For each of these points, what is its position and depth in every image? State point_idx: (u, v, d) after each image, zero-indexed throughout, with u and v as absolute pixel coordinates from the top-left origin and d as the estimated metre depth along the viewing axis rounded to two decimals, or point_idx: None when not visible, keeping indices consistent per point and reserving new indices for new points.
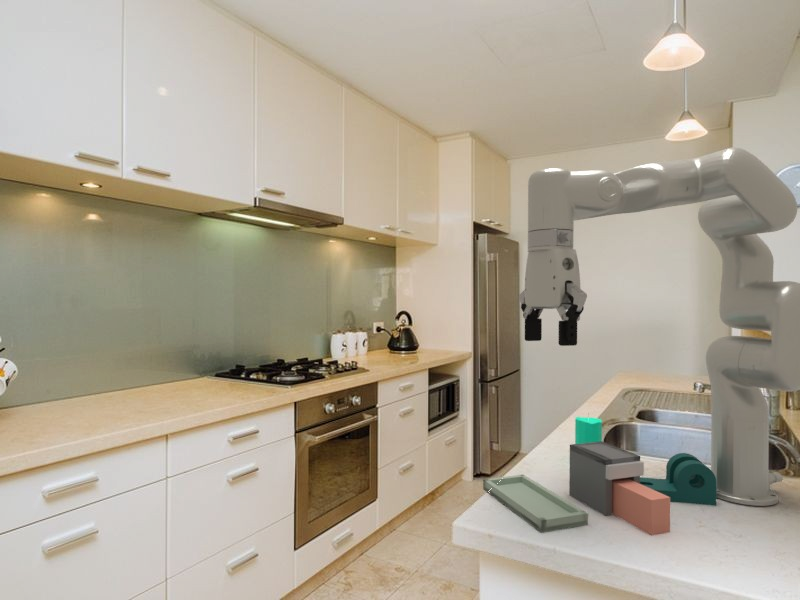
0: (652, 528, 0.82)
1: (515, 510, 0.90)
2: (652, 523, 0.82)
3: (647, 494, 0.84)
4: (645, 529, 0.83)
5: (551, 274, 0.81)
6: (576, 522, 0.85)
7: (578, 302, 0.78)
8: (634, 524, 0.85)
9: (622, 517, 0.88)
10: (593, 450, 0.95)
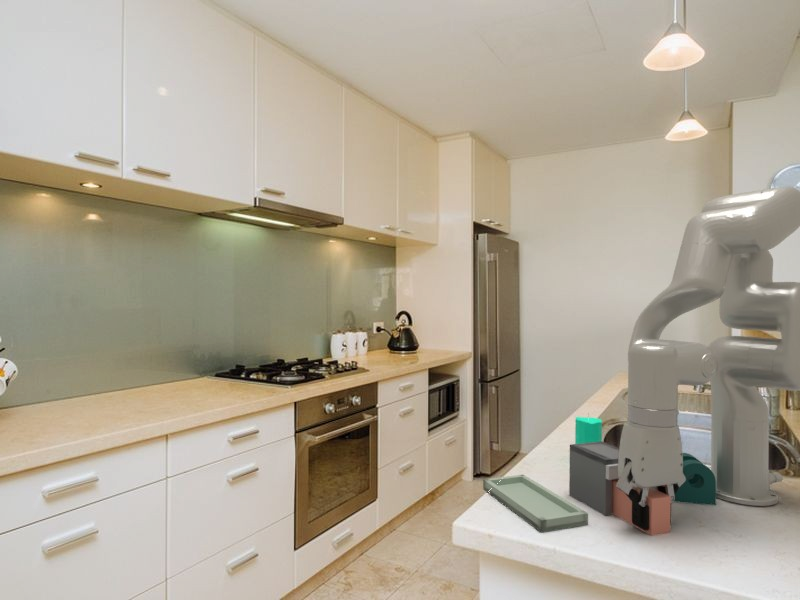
0: (652, 527, 0.82)
1: (515, 510, 0.90)
2: (652, 521, 0.82)
3: None
4: None
5: (679, 451, 0.84)
6: (576, 522, 0.85)
7: (681, 484, 0.86)
8: None
9: (622, 516, 0.88)
10: (593, 450, 0.95)
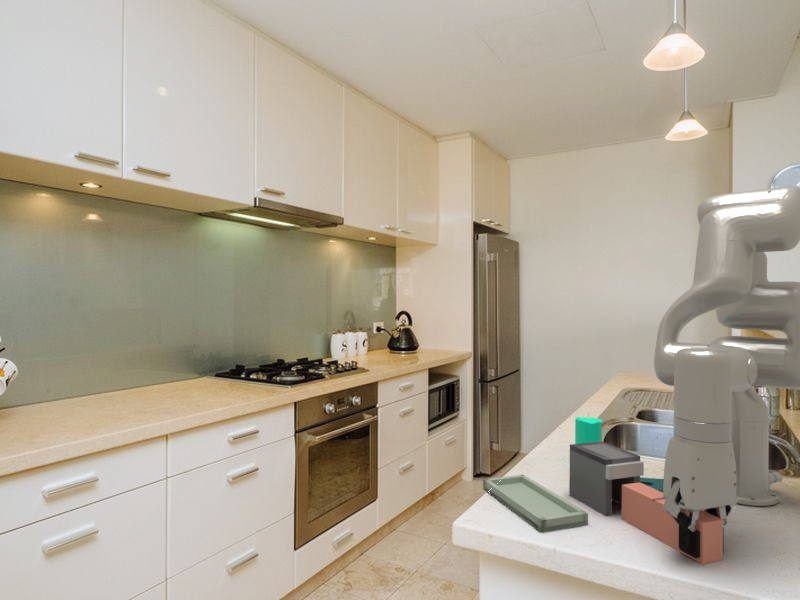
0: (703, 555, 0.73)
1: (515, 510, 0.90)
2: (703, 548, 0.73)
3: None
4: None
5: (732, 469, 0.75)
6: (576, 522, 0.85)
7: (733, 506, 0.77)
8: None
9: (666, 540, 0.79)
10: (593, 450, 0.95)
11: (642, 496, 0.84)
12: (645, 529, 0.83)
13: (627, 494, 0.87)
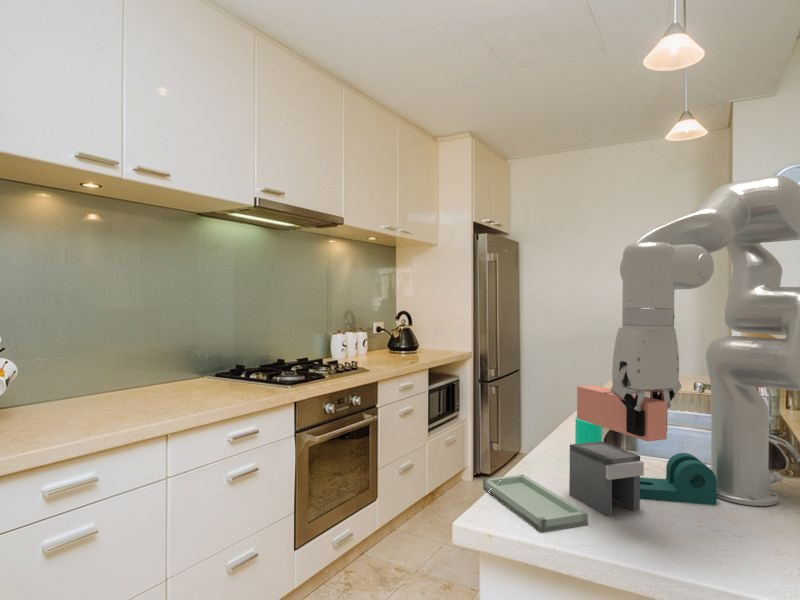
0: (648, 433, 0.78)
1: (515, 510, 0.90)
2: (648, 427, 0.78)
3: (643, 400, 0.80)
4: None
5: (675, 354, 0.80)
6: (576, 522, 0.85)
7: None
8: None
9: (616, 428, 0.84)
10: (593, 450, 0.95)
11: (595, 392, 0.89)
12: (598, 422, 0.88)
13: (582, 394, 0.92)
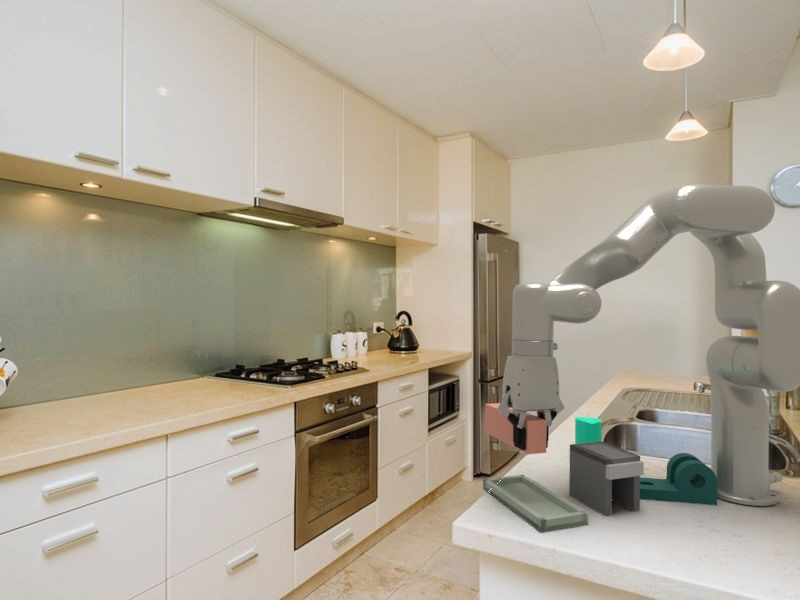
0: (528, 447, 0.91)
1: (515, 510, 0.90)
2: (528, 442, 0.91)
3: (527, 418, 0.93)
4: None
5: (555, 380, 0.93)
6: (576, 522, 0.85)
7: (559, 412, 0.95)
8: None
9: (509, 441, 0.97)
10: (593, 450, 0.95)
11: (496, 410, 1.02)
12: (497, 436, 1.01)
13: (488, 411, 1.05)
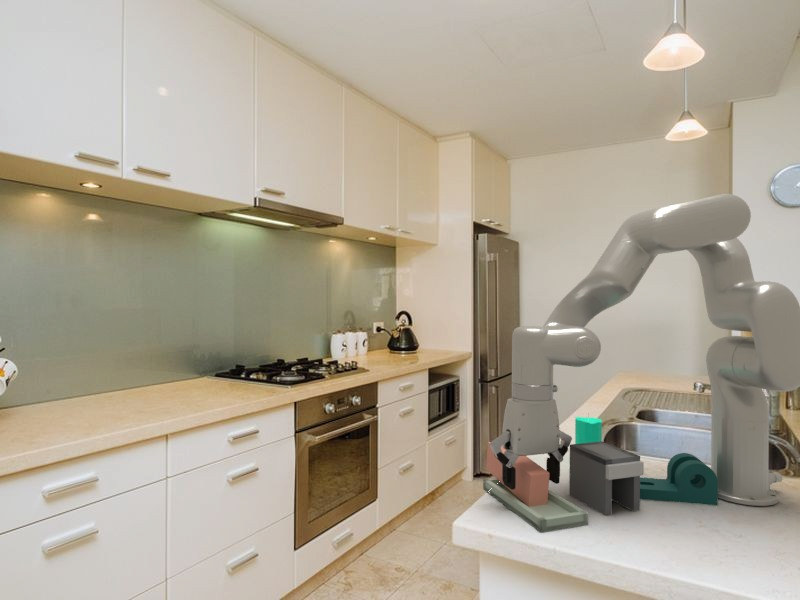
0: (529, 500, 0.91)
1: (515, 510, 0.90)
2: (530, 494, 0.91)
3: (530, 469, 0.93)
4: (525, 500, 0.92)
5: (555, 423, 0.93)
6: (576, 522, 0.85)
7: (569, 444, 0.96)
8: (518, 494, 0.94)
9: None
10: (593, 450, 0.95)
11: None
12: (499, 478, 1.01)
13: (490, 450, 1.04)
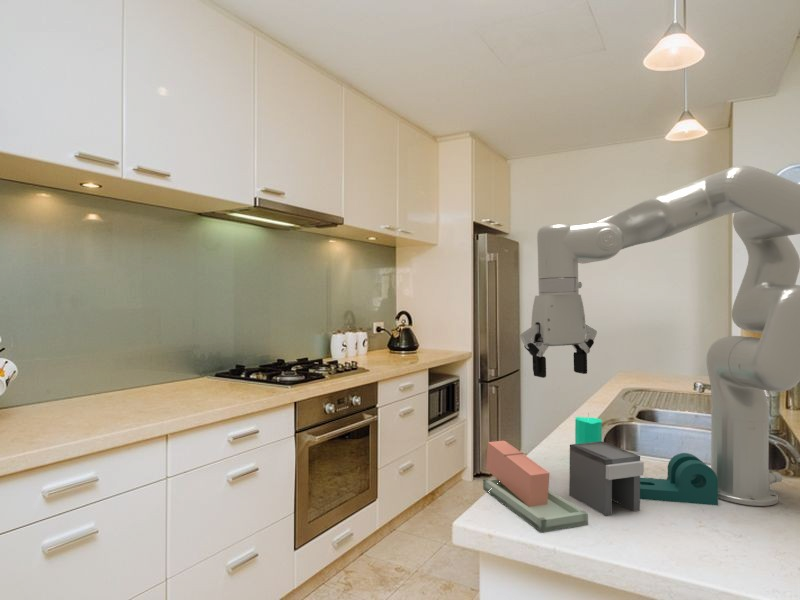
0: (529, 500, 0.91)
1: (515, 510, 0.90)
2: (530, 494, 0.91)
3: (530, 469, 0.93)
4: (525, 500, 0.92)
5: (581, 315, 0.98)
6: (576, 522, 0.85)
7: (594, 337, 1.01)
8: (518, 494, 0.94)
9: (510, 487, 0.97)
10: (593, 450, 0.95)
11: (498, 452, 1.01)
12: (499, 478, 1.01)
13: (490, 450, 1.04)
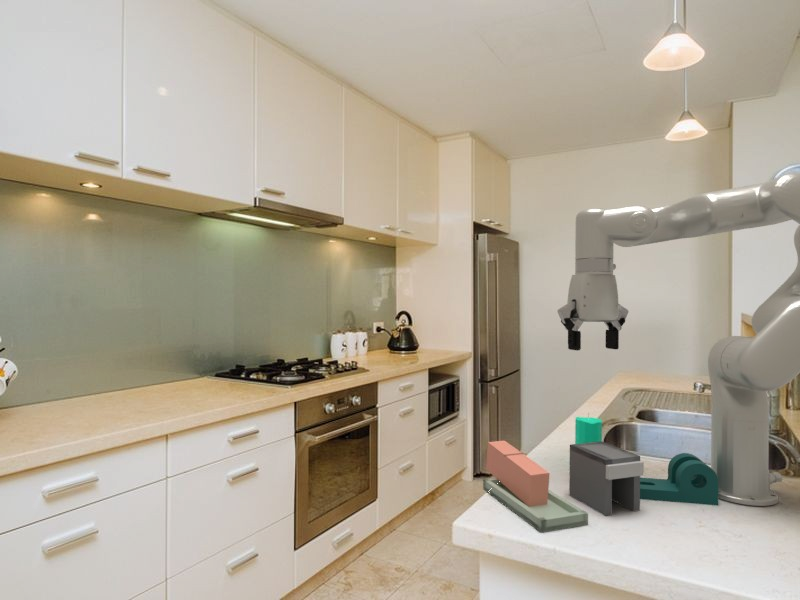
0: (529, 500, 0.91)
1: (515, 510, 0.90)
2: (530, 494, 0.91)
3: (530, 469, 0.93)
4: (525, 500, 0.92)
5: (615, 294, 1.05)
6: (576, 522, 0.85)
7: (626, 316, 1.08)
8: (518, 494, 0.94)
9: (510, 487, 0.97)
10: (593, 450, 0.95)
11: (498, 452, 1.01)
12: (499, 478, 1.01)
13: (490, 450, 1.04)
